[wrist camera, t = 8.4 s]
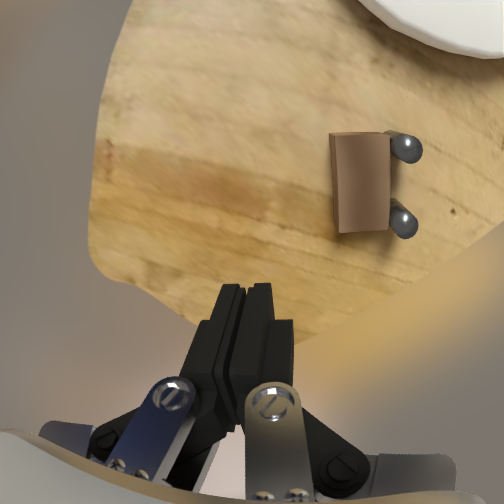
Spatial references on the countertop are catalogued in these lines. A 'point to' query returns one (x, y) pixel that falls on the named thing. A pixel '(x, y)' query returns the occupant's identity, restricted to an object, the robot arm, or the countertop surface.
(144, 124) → the countertop surface
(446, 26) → the white thick disc
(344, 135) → the block
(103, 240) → the countertop surface
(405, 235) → the bench dogs
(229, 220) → the countertop surface
